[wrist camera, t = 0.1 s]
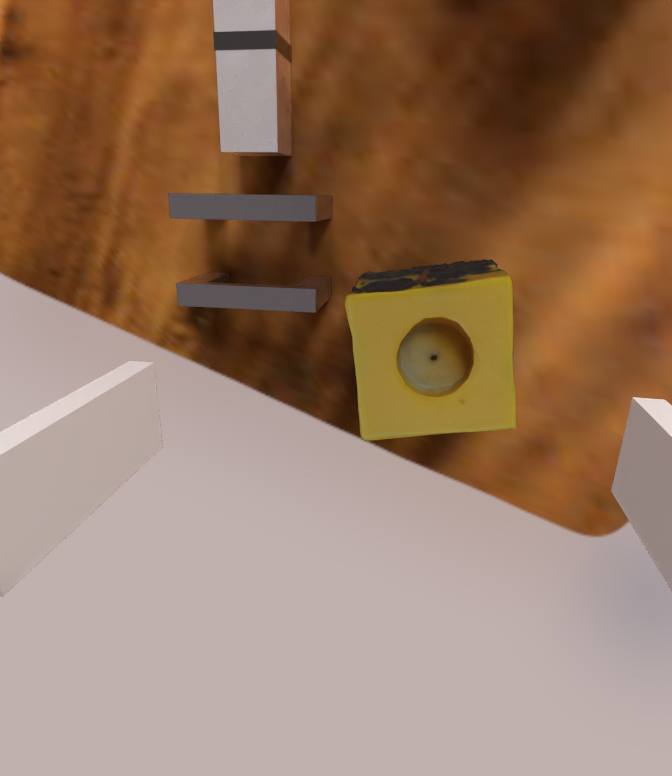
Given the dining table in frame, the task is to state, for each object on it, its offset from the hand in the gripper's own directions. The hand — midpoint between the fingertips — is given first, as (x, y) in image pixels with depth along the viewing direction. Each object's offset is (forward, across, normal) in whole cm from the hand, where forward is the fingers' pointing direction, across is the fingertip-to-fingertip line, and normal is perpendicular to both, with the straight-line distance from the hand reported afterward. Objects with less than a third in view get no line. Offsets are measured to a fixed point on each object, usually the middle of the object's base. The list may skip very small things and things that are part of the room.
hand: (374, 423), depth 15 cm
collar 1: (+28, -11, +5) cm, 31 cm away
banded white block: (+28, -11, +16) cm, 35 cm away
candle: (+28, +2, -4) cm, 29 cm away
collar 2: (+28, -11, -1) cm, 30 cm away
